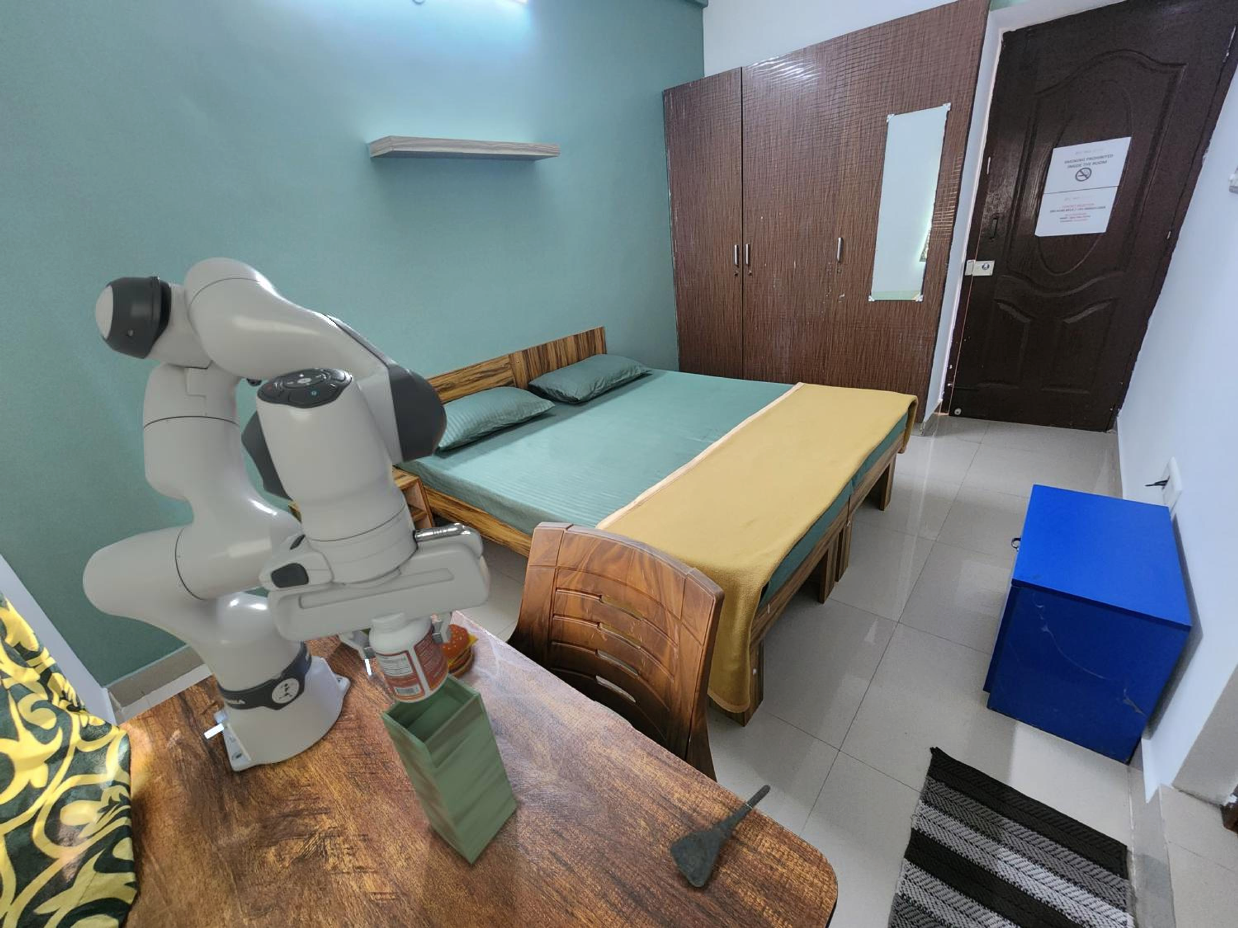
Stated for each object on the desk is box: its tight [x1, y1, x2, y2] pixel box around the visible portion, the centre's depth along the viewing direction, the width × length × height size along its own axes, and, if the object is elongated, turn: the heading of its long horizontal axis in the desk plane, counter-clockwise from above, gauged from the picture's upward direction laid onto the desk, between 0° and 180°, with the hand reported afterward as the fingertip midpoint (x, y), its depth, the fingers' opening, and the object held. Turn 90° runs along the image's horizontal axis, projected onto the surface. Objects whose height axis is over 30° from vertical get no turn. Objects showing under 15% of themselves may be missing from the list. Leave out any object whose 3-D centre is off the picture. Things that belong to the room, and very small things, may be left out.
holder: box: [380, 673, 518, 865], centre depth 63 cm, size 8×8×22 cm
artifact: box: [669, 784, 771, 888], centre depth 62 cm, size 15×2×5 cm
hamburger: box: [440, 623, 479, 679], centre depth 91 cm, size 9×10×7 cm
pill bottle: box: [369, 613, 448, 703], centre depth 54 cm, size 6×6×11 cm
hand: (407, 646), depth 54 cm, fingers closed on pill bottle, 6 cm apart
